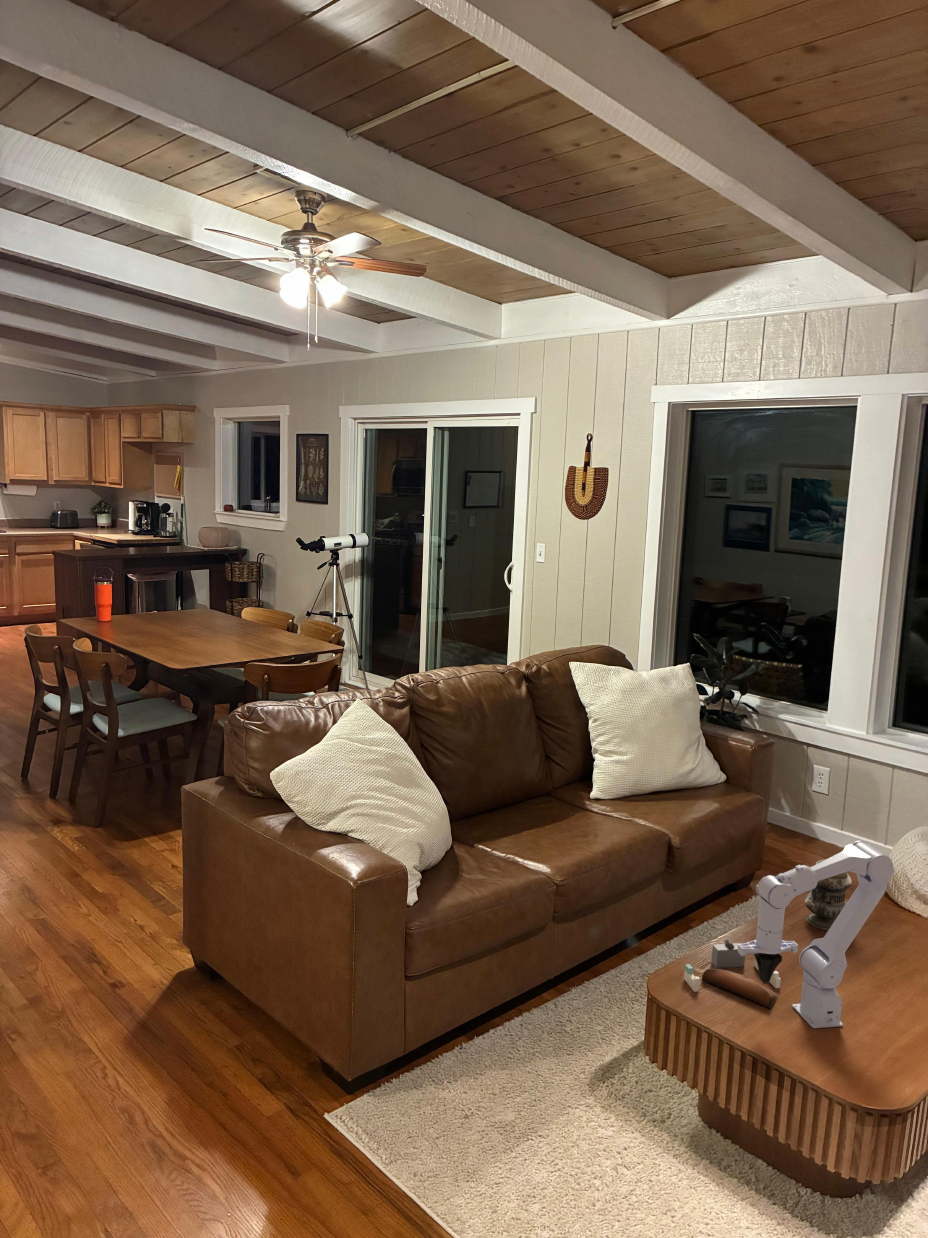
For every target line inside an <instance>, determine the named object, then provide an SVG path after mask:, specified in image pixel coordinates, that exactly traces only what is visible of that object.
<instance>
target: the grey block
mask: <svg viewBox="0 0 928 1238" xmlns="http://www.w3.org/2000/svg"><path fill="white" fill-rule="evenodd" d="M738 944H742V943H741V942H736V943H735V942H734V943H732V942H731V941H730V940H729V939H725V940H724V943H719V944H716V943H715V944H712V950H711V961H710V962H711V963H712V965H713V966H714V967H715V969H720V968H721V969H722V968H736V967H737V968H738V967H745V961H746V955H745V956H741V955H740V954H739V953H738Z"/></svg>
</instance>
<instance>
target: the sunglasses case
mask: <svg viewBox="0 0 928 1238" xmlns="http://www.w3.org/2000/svg"><path fill="white" fill-rule="evenodd" d="M701 976H702V977H701V981H702V982H705V983H708V984H710V985H713V986H716V987H719V988H722V989H725V990H727V991H730V992H732V993H734V994H736V995H739V996H742V997H743V998H746V999H748V1000H750V1001H753V1002H754V1003H758V1004H760V1005H762V1006H764V1007H767V1008H768V1009H769V1010H770V1009H771V1008H772V1007H773V1005H774V1004H775V1003H776V1002H777V1000H778V999H779V998H780V996H779V994H777V993H776V992H774V991H773V990H771V989H769V988H767V987H765V986H763V985H761V984H760V983H759V982H757V981H755V980H754V979H752V978H750V977H747V976H746V975H743V974H741V973H736V972H734V971H730V970H724V969H720V968H707V969H705V970H704V971H703V973H702V975H701Z"/></svg>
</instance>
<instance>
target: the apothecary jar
mask: <svg viewBox="0 0 928 1238" xmlns="http://www.w3.org/2000/svg"><path fill="white" fill-rule="evenodd" d="M824 860H825V859H820V860H818V861H816V863H815V865H816V864H818V863H820V862H822V861H824ZM852 882H853V881H852V878H851V877H850V875H849V874H848V871H847V872H844V873H841V874H838V875H835V876H832V877H829V878H826V879H823V880H820V881H818V883H817V886H816V888H814V889H812V890H810V891H809V893H808V894H807V895H806V896H805V899H804V904H805V906H806V908H807V909H808V910H809V912H811V914H809V915H807V917H806V921H807V923H808V924H809V925H810V926H813V927H815V928H817V929H820V930H824V931H828V930H829V929H830V927H831V926H832V924H833V923H834V921H835V920H836V918H837V917H838V915H839V914H840V912H841V911H842V909H843V908H844V906H845V905H846V903H847V902H846V894H847V890H849V889H850V888H851V886H852Z"/></svg>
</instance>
